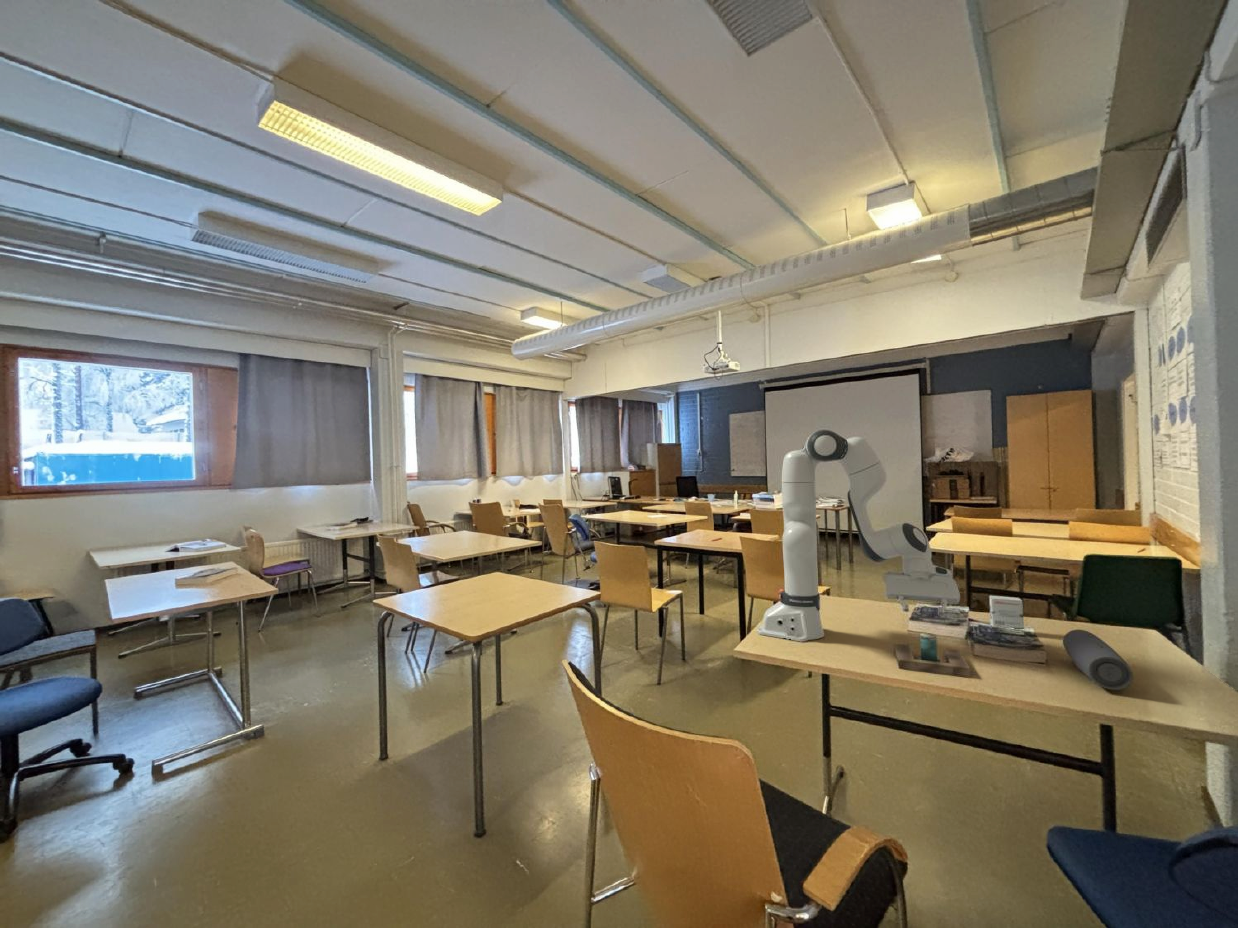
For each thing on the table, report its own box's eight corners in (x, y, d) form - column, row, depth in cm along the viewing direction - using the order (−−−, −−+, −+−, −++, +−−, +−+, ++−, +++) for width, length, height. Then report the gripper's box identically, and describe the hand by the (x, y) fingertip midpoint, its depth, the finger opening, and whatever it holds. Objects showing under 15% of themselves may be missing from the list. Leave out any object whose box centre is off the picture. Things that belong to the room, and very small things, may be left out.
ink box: (1021, 631, 169) (1020, 597, 169) (1024, 636, 165) (1023, 600, 165) (989, 628, 173) (988, 594, 173) (992, 632, 169) (991, 598, 169)
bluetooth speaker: (1137, 698, 121) (1136, 657, 121) (1086, 691, 126) (1085, 651, 126) (1103, 664, 141) (1102, 629, 141) (1060, 659, 146) (1059, 625, 146)
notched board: (899, 668, 142) (898, 659, 142) (894, 651, 155) (894, 643, 155) (970, 677, 135) (970, 668, 135) (959, 658, 148) (958, 650, 148)
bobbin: (918, 664, 144) (917, 637, 144) (916, 657, 150) (915, 630, 150) (942, 667, 142) (941, 639, 142) (939, 660, 147) (938, 633, 147)
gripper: (882, 566, 163) (885, 603, 154) (956, 570, 155) (964, 610, 146) (882, 576, 167) (884, 613, 158) (954, 581, 159) (961, 621, 150)
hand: (923, 612), depth 152 cm, fingers open, 8 cm apart
